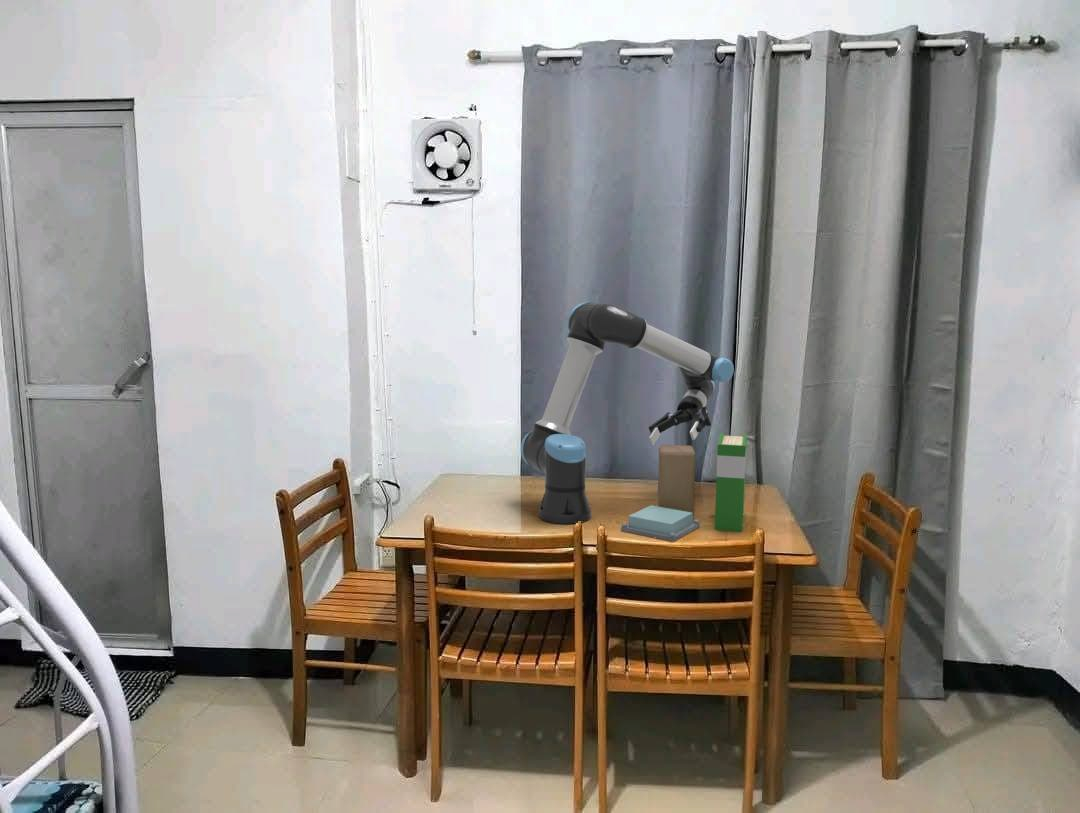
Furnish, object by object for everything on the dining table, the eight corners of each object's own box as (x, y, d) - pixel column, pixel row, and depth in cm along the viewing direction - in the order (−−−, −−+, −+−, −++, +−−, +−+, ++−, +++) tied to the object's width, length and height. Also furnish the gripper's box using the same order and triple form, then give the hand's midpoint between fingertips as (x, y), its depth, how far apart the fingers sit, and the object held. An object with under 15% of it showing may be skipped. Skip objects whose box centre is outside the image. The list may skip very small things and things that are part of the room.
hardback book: (717, 511, 238) (720, 432, 234) (743, 513, 236) (746, 434, 232) (714, 529, 221) (717, 444, 217) (742, 531, 219) (745, 446, 215)
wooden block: (690, 510, 239) (692, 444, 236) (694, 520, 229) (696, 452, 226) (657, 509, 240) (658, 444, 237) (658, 519, 230) (660, 451, 227)
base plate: (621, 530, 219) (621, 516, 219) (648, 517, 232) (649, 503, 231) (673, 542, 210) (674, 526, 209) (699, 527, 223) (700, 512, 222)
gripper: (732, 410, 250) (714, 444, 234) (660, 421, 264) (638, 454, 248) (725, 389, 248) (706, 422, 232) (653, 401, 262) (630, 433, 245)
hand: (671, 438), depth 240 cm, fingers open, 13 cm apart
